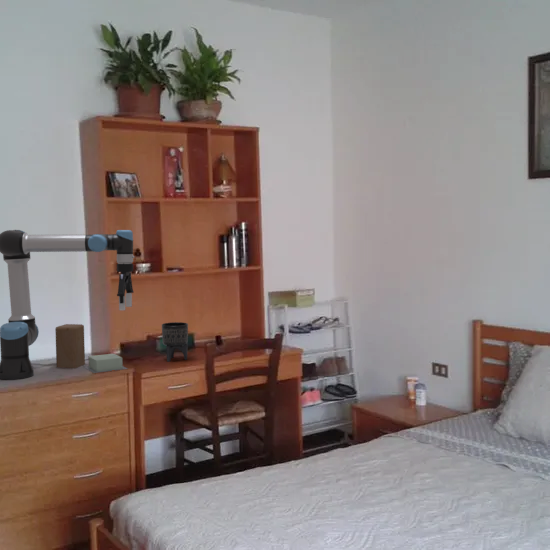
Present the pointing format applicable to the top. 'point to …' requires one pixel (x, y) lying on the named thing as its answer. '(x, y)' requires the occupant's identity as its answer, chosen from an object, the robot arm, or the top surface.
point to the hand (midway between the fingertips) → (125, 308)
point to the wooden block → (70, 346)
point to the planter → (175, 338)
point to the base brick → (105, 362)
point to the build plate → (102, 371)
